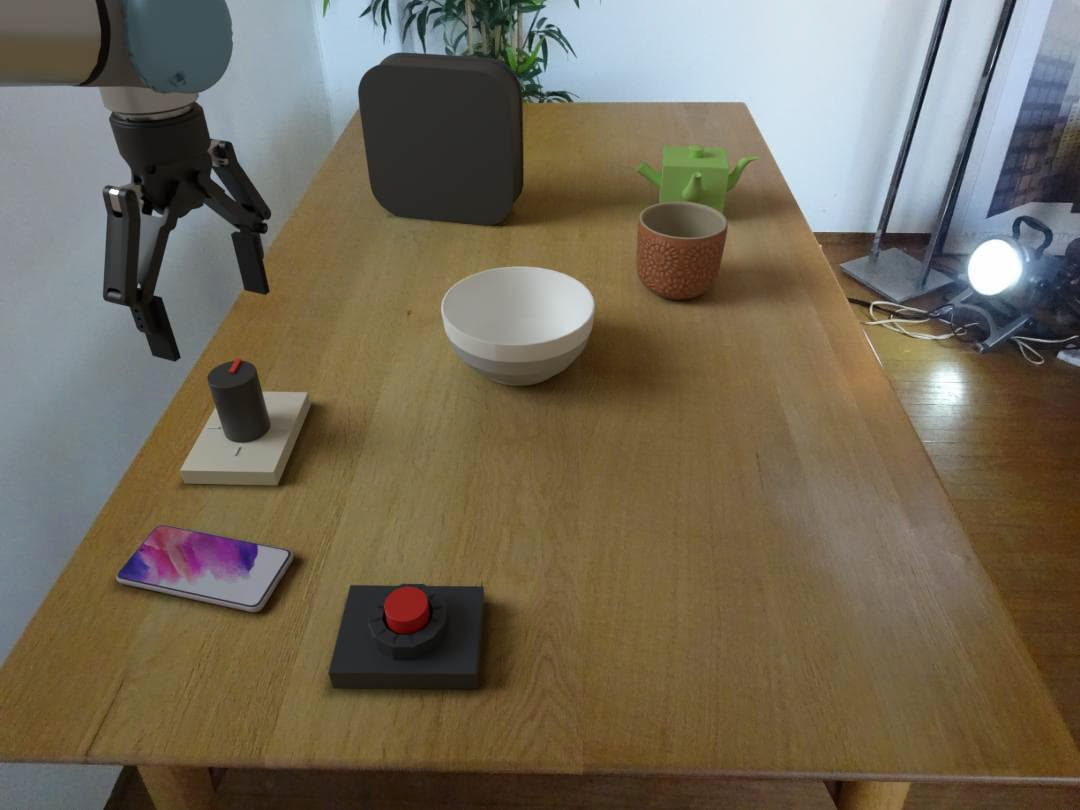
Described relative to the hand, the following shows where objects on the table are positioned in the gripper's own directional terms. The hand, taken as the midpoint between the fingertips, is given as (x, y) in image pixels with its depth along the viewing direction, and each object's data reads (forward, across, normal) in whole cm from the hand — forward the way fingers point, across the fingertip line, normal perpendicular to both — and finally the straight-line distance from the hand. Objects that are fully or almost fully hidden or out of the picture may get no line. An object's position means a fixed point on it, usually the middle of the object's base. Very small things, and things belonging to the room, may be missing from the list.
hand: (214, 322), depth 81 cm
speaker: (+16, +65, +7) cm, 67 cm away
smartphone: (+16, -16, -8) cm, 25 cm away
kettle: (+15, +80, -32) cm, 87 cm away
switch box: (+16, -16, -30) cm, 38 cm away
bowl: (+16, +26, -22) cm, 38 cm away
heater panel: (+16, 0, 0) cm, 16 cm away
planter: (+16, +52, -36) cm, 66 cm away
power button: (+13, -17, -30) cm, 36 cm away
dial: (+14, 0, 0) cm, 14 cm away
